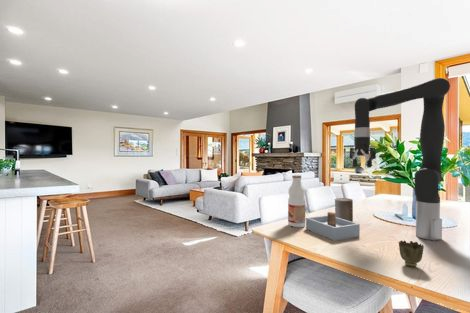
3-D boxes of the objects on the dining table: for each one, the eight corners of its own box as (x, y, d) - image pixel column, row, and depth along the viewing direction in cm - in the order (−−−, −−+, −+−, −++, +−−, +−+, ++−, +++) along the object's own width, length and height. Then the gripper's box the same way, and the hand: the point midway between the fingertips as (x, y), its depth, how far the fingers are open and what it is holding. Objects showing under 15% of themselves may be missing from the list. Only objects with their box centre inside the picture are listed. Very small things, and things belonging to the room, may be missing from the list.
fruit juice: (303, 228, 138) (303, 176, 137) (286, 226, 142) (286, 175, 142) (306, 224, 146) (307, 175, 146) (290, 222, 150) (290, 174, 150)
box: (359, 236, 125) (359, 224, 125) (334, 240, 118) (334, 227, 118) (329, 225, 143) (329, 215, 143) (306, 229, 137) (306, 218, 136)
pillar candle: (356, 223, 149) (356, 197, 149) (346, 225, 143) (346, 198, 143) (341, 219, 157) (341, 195, 157) (331, 222, 151) (331, 196, 151)
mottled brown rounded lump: (401, 268, 90) (401, 245, 90) (396, 260, 97) (396, 239, 97) (426, 271, 87) (426, 248, 87) (419, 263, 94) (420, 241, 94)
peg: (337, 233, 130) (337, 213, 130) (331, 234, 128) (331, 214, 128) (331, 231, 133) (331, 211, 133) (325, 232, 132) (325, 212, 132)
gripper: (379, 135, 131) (379, 167, 131) (356, 137, 144) (355, 166, 144) (369, 135, 128) (368, 168, 128) (346, 137, 141) (346, 166, 141)
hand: (362, 167), depth 136 cm, fingers open, 8 cm apart
